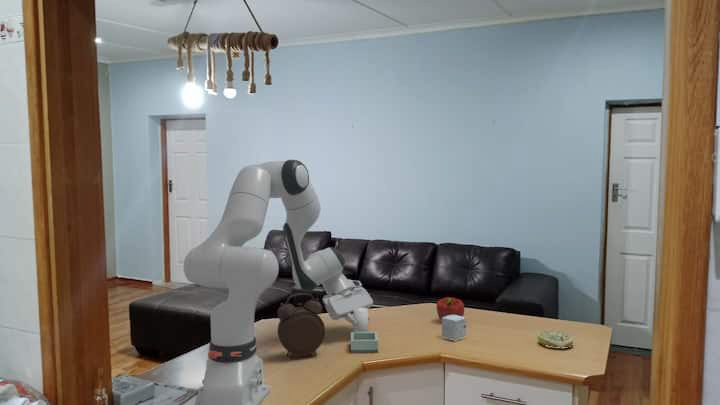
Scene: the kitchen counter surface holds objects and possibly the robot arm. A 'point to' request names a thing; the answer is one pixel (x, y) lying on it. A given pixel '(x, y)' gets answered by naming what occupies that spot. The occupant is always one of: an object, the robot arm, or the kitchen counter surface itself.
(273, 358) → the kitchen counter surface
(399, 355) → the kitchen counter surface
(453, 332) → the skincare box
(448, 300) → the vegetable
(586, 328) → the kitchen counter surface
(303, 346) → the alarm clock
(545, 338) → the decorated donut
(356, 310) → the cylinder
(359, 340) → the teal open box
